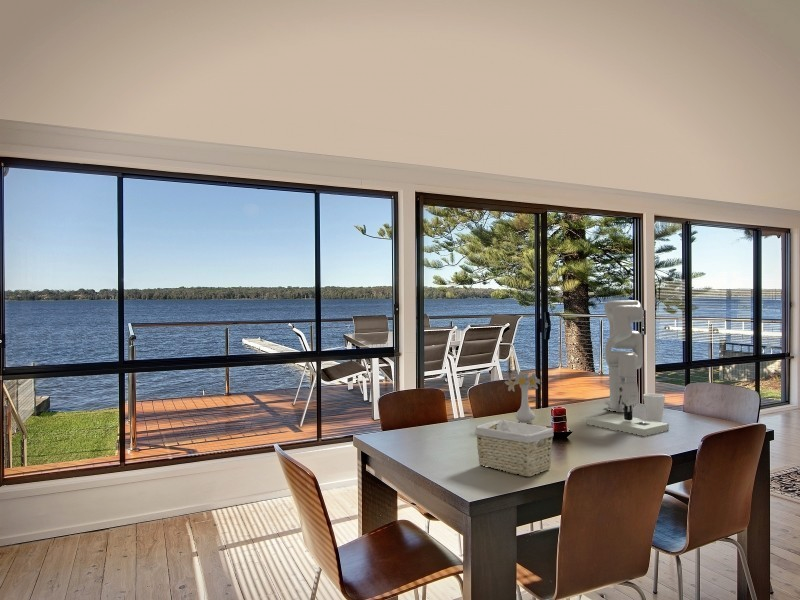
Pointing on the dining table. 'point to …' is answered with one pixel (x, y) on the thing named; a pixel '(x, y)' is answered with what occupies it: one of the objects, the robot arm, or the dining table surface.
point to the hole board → (628, 424)
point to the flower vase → (524, 395)
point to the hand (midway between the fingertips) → (628, 419)
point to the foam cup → (654, 406)
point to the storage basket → (514, 447)
